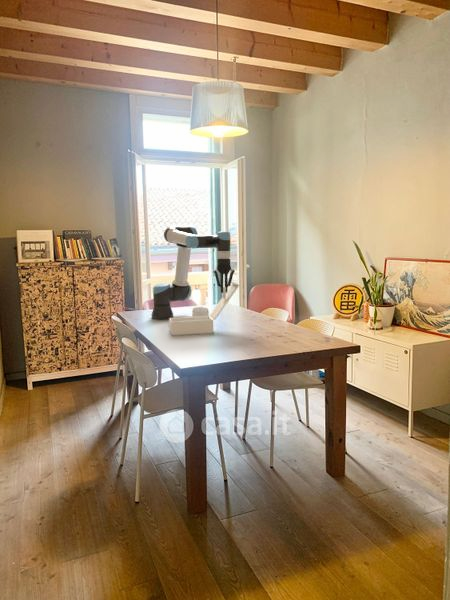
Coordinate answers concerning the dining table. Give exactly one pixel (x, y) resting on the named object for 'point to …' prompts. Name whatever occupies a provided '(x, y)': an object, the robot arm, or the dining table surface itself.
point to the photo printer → (200, 311)
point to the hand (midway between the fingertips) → (224, 298)
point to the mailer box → (190, 325)
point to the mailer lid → (224, 300)
